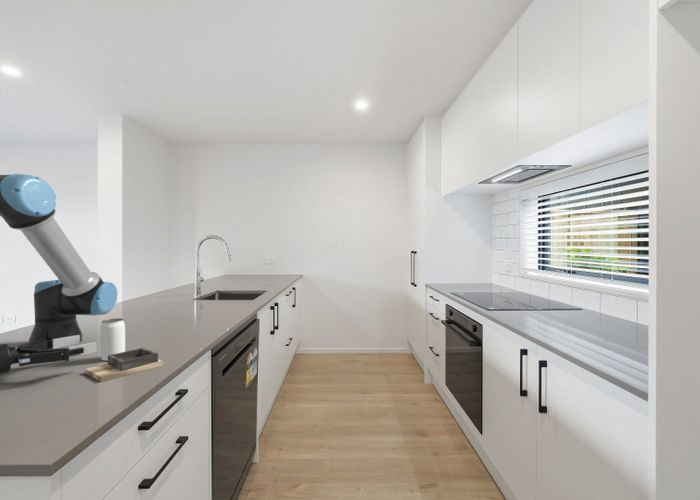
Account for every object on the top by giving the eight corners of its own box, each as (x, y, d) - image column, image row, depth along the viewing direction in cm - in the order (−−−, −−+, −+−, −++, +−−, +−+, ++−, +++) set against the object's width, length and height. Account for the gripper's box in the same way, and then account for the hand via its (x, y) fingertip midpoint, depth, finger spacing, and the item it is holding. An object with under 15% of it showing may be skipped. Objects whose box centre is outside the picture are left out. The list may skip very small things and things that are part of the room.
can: (113, 362, 109) (112, 322, 109) (95, 360, 110) (94, 321, 110) (130, 355, 115) (129, 318, 115) (113, 354, 117) (112, 317, 116)
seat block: (85, 373, 100) (85, 359, 100) (145, 358, 113) (145, 346, 113) (101, 381, 93) (101, 367, 93) (163, 365, 106) (163, 352, 106)
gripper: (-22, 366, 97) (73, 348, 114) (-2, 388, 83) (104, 363, 100) (-23, 339, 97) (72, 324, 114) (-3, 355, 82) (103, 336, 99)
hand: (87, 342), depth 107 cm, fingers open, 13 cm apart
